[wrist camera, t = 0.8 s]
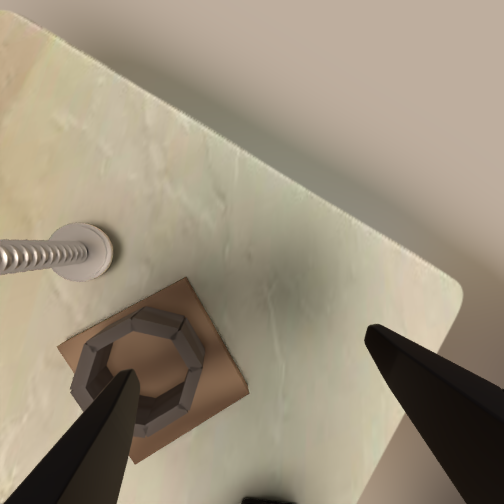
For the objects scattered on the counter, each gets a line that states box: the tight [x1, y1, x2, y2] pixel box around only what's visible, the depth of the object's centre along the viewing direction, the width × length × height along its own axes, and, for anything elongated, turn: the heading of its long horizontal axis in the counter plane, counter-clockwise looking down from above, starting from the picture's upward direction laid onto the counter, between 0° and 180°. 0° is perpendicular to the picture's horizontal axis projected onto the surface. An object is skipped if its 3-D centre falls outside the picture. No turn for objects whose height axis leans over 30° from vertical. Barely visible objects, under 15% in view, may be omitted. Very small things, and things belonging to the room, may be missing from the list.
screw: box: [0, 223, 113, 282], centre depth 13 cm, size 13×5×5 cm
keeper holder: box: [57, 277, 249, 464], centre depth 19 cm, size 13×12×4 cm
